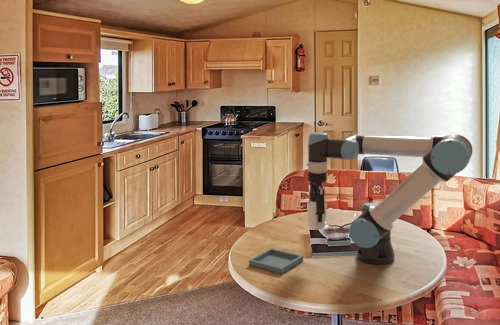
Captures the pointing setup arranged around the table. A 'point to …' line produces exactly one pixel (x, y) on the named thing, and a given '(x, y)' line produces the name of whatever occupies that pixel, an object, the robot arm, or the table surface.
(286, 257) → the slate tray
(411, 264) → the table surface
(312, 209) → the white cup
